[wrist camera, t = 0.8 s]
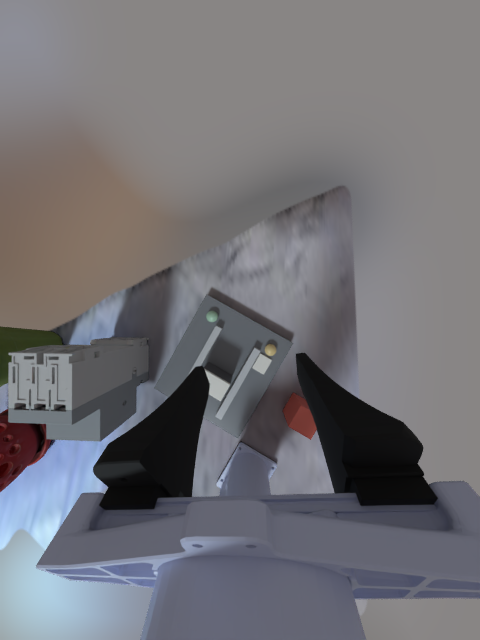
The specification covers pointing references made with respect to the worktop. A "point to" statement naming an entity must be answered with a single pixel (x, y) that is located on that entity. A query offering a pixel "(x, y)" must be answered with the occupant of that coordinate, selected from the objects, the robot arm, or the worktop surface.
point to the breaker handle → (217, 380)
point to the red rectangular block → (299, 416)
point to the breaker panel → (227, 361)
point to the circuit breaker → (77, 386)
